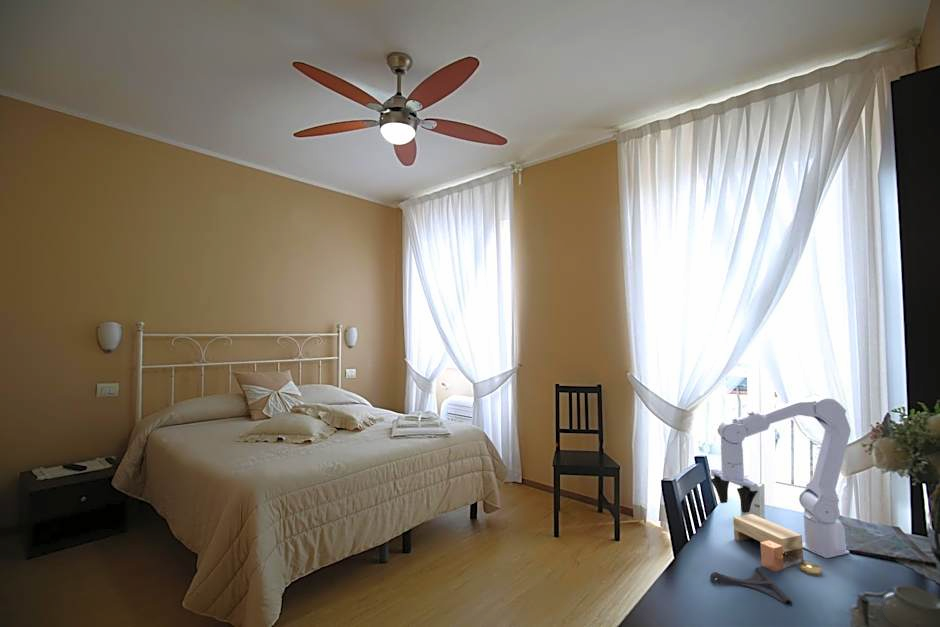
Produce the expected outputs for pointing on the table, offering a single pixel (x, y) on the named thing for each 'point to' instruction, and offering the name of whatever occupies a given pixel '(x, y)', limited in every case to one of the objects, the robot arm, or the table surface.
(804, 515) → the robot arm
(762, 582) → the bracket
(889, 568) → the table surface
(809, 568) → the token
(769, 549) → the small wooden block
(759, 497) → the skincare box
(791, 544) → the wooden plank block
